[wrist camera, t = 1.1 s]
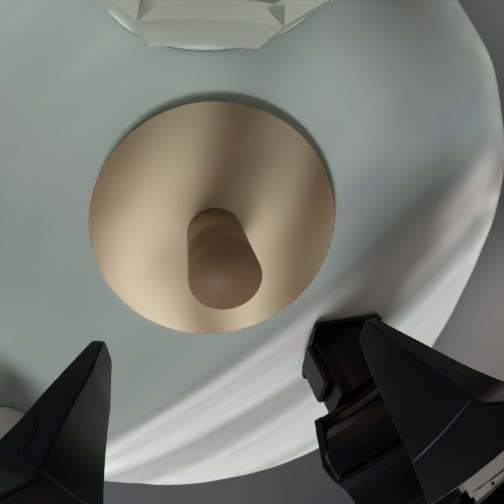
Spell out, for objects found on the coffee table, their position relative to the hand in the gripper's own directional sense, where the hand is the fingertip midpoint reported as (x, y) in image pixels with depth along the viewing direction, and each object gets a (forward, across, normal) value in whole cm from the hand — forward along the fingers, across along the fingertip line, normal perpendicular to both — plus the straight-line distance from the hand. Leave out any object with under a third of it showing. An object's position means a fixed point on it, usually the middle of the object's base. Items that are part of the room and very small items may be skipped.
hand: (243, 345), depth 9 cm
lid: (+10, 0, 0) cm, 10 cm away
